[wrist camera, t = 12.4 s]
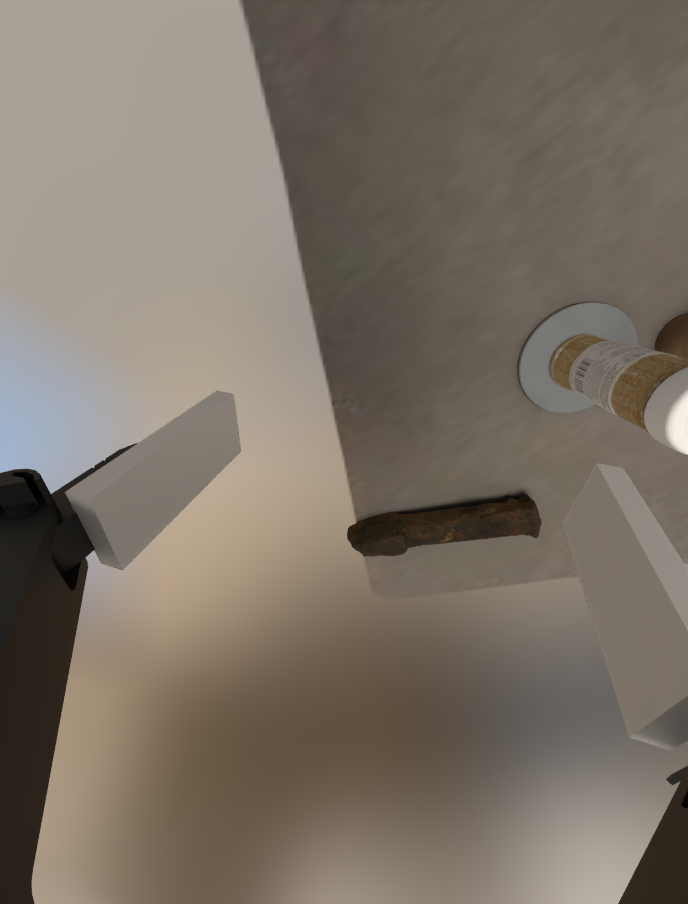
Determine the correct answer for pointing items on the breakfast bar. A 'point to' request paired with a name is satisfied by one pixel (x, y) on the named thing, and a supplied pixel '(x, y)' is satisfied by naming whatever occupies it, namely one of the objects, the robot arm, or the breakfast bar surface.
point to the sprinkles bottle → (628, 384)
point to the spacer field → (674, 337)
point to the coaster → (552, 335)
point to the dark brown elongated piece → (444, 526)
